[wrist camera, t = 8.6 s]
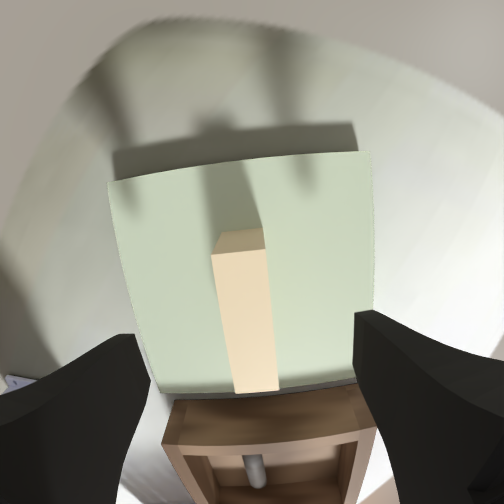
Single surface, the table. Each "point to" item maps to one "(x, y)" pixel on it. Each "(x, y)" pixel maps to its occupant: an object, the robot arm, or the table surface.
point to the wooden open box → (273, 447)
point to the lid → (248, 269)
